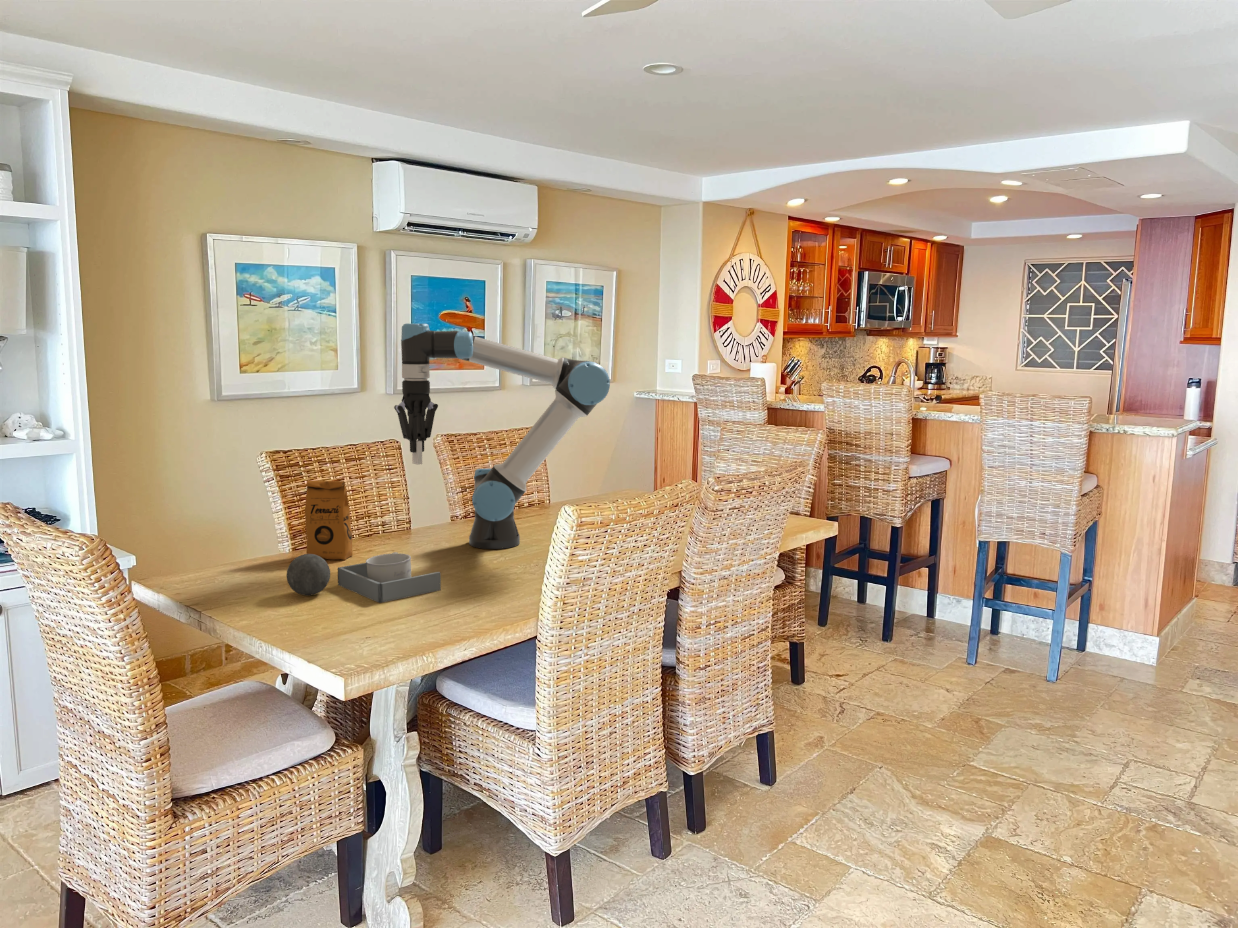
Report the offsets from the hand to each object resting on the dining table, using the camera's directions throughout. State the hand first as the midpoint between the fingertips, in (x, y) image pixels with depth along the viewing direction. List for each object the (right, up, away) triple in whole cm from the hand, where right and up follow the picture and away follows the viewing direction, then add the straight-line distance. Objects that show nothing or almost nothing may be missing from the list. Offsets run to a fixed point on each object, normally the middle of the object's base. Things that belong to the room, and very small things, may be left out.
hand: (417, 463), depth 261 cm
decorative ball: (-18, -32, -36) cm, 52 cm away
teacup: (0, -31, -29) cm, 43 cm away
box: (0, -31, -29) cm, 42 cm away
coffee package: (-25, -27, 0) cm, 36 cm away
